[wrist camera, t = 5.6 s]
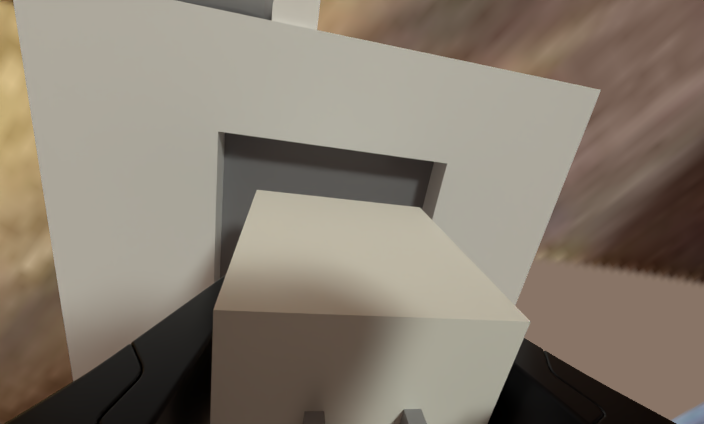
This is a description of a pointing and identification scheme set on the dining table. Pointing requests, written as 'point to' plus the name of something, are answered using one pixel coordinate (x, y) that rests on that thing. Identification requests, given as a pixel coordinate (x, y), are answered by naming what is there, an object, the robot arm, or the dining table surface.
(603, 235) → the dining table surface
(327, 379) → the charger brick
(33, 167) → the dining table surface
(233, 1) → the grey bar
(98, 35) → the outlet plate
